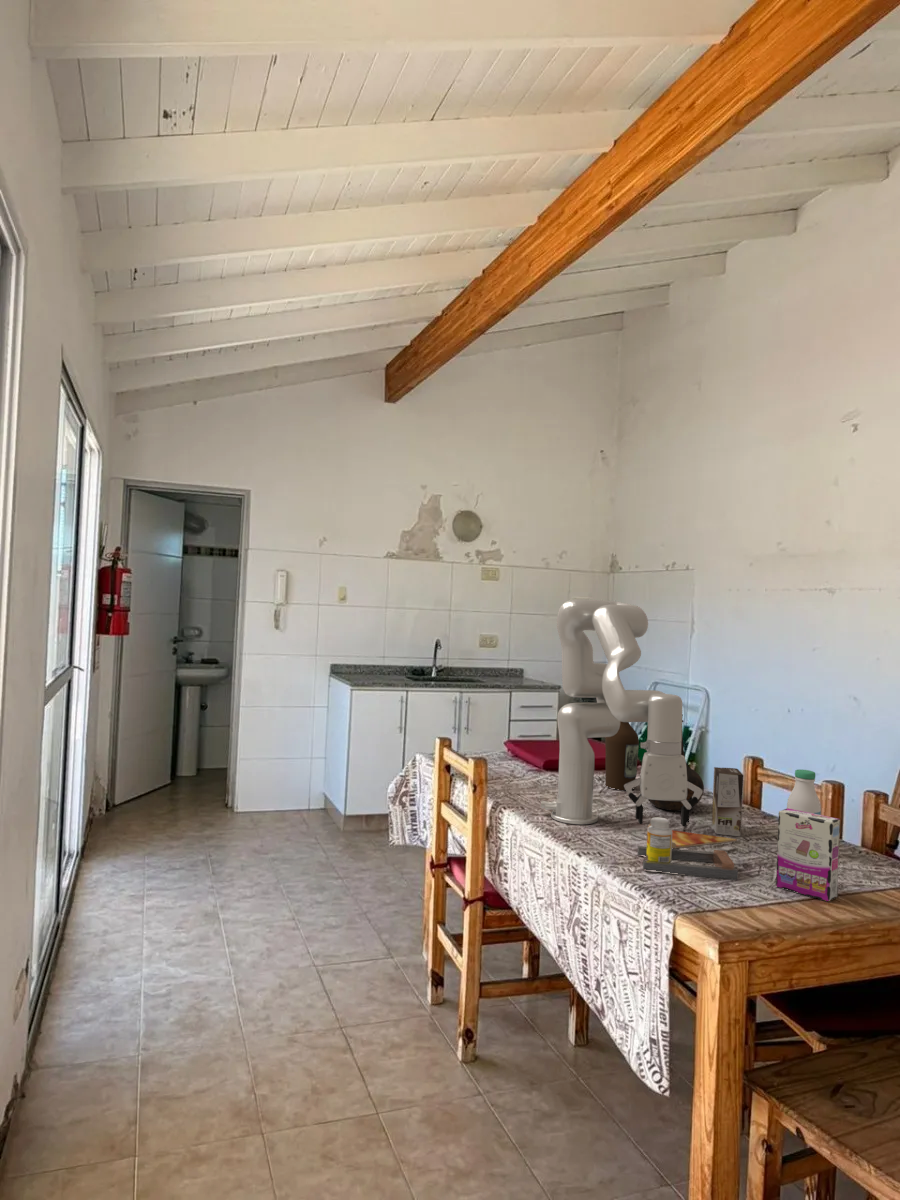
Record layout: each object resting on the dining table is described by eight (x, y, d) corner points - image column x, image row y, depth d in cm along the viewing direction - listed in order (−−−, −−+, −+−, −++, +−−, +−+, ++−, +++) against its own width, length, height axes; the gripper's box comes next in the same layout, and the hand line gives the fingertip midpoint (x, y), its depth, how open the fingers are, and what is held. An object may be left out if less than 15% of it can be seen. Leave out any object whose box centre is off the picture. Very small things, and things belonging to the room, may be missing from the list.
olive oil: (596, 786, 252) (600, 709, 252) (615, 782, 260) (618, 707, 260) (624, 793, 245) (628, 713, 245) (643, 788, 252) (646, 711, 252)
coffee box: (741, 837, 202) (744, 775, 202) (715, 834, 203) (718, 772, 203) (735, 827, 211) (738, 768, 211) (711, 824, 212) (713, 765, 212)
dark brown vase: (693, 801, 238) (697, 709, 238) (711, 817, 220) (715, 718, 220) (634, 798, 239) (638, 707, 239) (647, 813, 221) (652, 715, 221)
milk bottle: (804, 858, 186) (808, 775, 186) (777, 849, 193) (781, 768, 193) (826, 855, 190) (829, 773, 190) (798, 845, 197) (802, 766, 197)
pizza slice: (736, 860, 184) (737, 852, 184) (640, 846, 191) (641, 838, 191) (736, 842, 198) (736, 834, 198) (647, 830, 206) (647, 822, 206)
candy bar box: (838, 897, 161) (841, 818, 161) (829, 903, 158) (833, 822, 158) (784, 881, 169) (787, 806, 169) (774, 887, 166) (777, 810, 166)
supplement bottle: (652, 858, 181) (654, 814, 181) (675, 864, 178) (677, 819, 178) (641, 864, 177) (643, 819, 177) (664, 870, 173) (666, 824, 173)
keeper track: (643, 871, 172) (644, 858, 172) (637, 854, 184) (638, 841, 184) (737, 879, 169) (738, 866, 169) (725, 861, 181) (725, 848, 181)
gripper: (627, 749, 175) (624, 825, 174) (706, 753, 172) (704, 831, 172) (623, 744, 182) (621, 817, 182) (700, 748, 180) (698, 822, 179)
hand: (661, 824), depth 177 cm, fingers open, 9 cm apart
